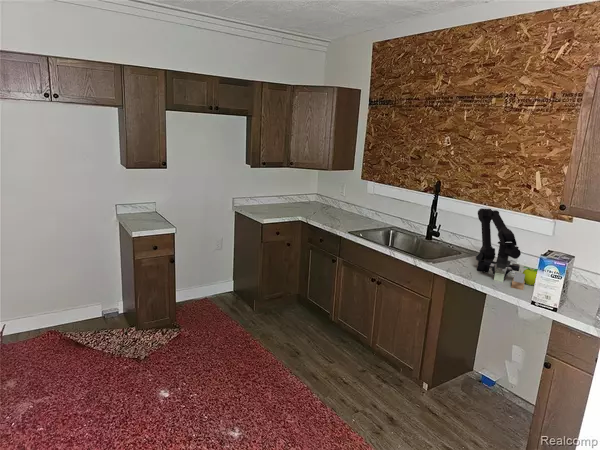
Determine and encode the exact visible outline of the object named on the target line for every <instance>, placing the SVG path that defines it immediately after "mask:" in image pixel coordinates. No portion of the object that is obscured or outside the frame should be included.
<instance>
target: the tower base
mask: <svg viewBox="0 0 600 450" xmlns="http://www.w3.org/2000/svg"><path fill="white" fill-rule="evenodd" d="M513 280H514V277H513V278H512V282H511V287H510V288H511V289H516V290H519V291H524V287H525V284H526V283H525V281H524V283H519V282H514V281H513Z"/></svg>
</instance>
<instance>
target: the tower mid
mask: <svg viewBox="0 0 600 450" xmlns="http://www.w3.org/2000/svg"><path fill="white" fill-rule="evenodd" d="M522 273H523V272H518V271H515V273H514V276H513V278H514V280H513V279H512V280H513V281H514V282H519V283H524V278H525V274H522ZM524 284H525V283H524Z"/></svg>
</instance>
